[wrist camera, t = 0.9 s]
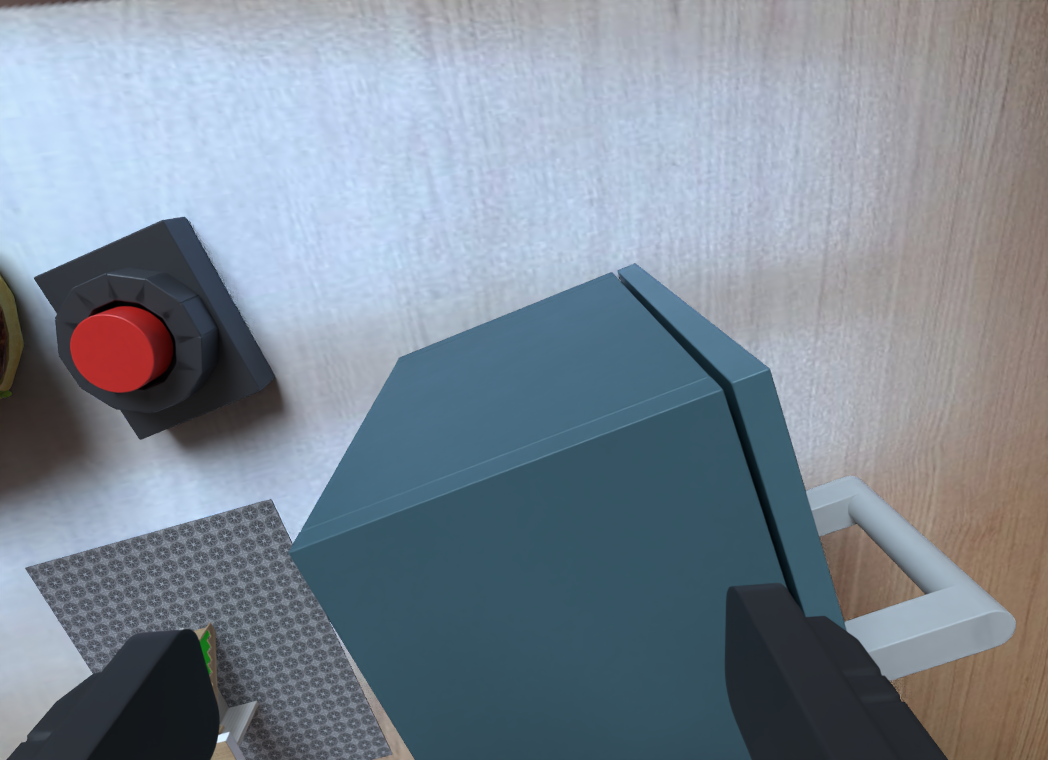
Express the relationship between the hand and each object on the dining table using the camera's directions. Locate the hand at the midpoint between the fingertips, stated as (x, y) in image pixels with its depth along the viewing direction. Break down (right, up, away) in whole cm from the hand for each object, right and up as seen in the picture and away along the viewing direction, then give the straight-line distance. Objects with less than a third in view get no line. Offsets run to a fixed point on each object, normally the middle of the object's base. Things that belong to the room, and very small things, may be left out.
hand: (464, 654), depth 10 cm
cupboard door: (+12, +4, +25) cm, 28 cm away
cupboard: (+3, +1, +26) cm, 26 cm away
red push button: (-17, +6, +20) cm, 27 cm away
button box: (-17, +7, +23) cm, 30 cm away
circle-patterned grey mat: (-18, -14, +31) cm, 38 cm away
